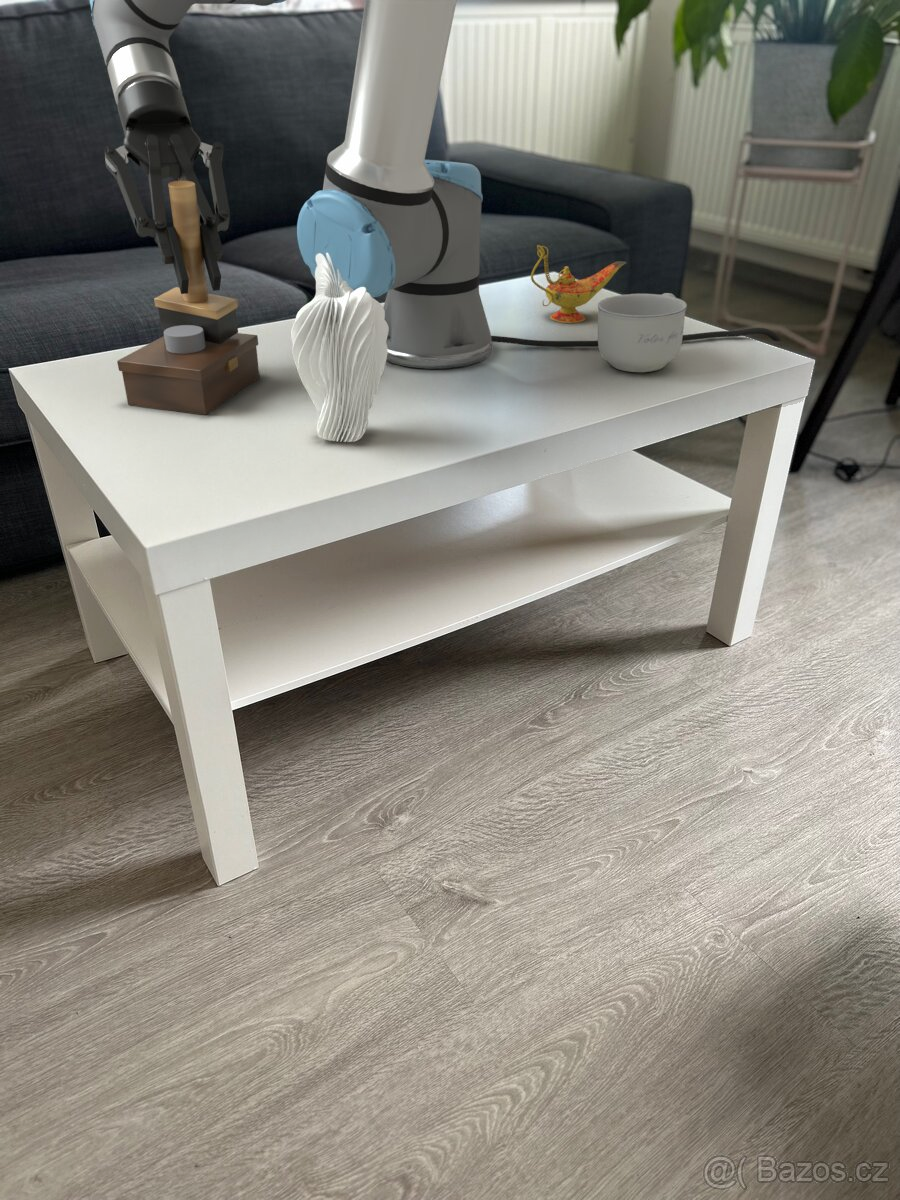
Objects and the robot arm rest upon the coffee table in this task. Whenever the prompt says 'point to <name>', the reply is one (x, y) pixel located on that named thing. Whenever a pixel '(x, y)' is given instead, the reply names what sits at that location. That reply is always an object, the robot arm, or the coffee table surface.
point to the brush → (194, 276)
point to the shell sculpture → (340, 353)
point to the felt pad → (184, 339)
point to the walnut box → (190, 374)
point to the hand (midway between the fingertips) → (201, 285)
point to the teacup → (640, 330)
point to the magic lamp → (572, 289)
